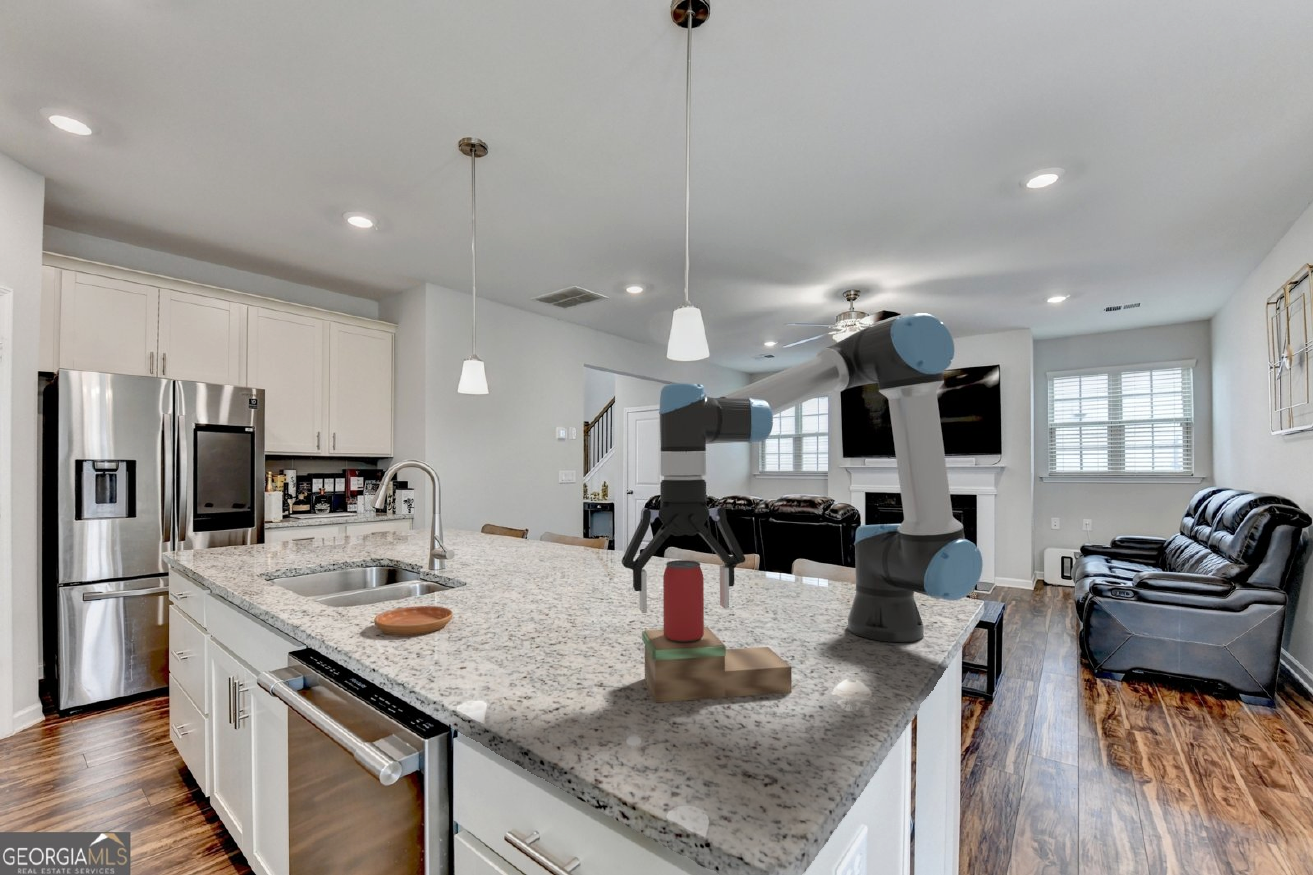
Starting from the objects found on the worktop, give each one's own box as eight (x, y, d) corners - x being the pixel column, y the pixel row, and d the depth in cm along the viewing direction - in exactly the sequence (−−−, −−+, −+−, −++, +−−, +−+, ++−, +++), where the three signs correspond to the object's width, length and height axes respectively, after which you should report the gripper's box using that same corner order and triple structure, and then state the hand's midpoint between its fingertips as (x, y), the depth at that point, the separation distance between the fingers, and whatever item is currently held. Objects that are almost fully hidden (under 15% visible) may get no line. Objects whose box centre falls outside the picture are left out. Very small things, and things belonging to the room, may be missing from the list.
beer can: (682, 629, 100) (682, 558, 100) (712, 637, 95) (711, 563, 96) (654, 637, 95) (654, 563, 96) (684, 646, 90) (684, 568, 91)
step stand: (768, 670, 103) (768, 623, 103) (792, 693, 93) (792, 642, 93) (642, 678, 99) (642, 630, 99) (652, 704, 88) (653, 650, 89)
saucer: (466, 620, 135) (466, 607, 135) (423, 642, 119) (424, 627, 119) (405, 616, 139) (405, 603, 139) (356, 636, 123) (357, 622, 123)
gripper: (748, 476, 102) (749, 599, 101) (605, 478, 98) (605, 607, 97) (763, 477, 95) (765, 610, 94) (609, 480, 90) (610, 619, 89)
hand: (684, 609), depth 95 cm, fingers open, 13 cm apart
